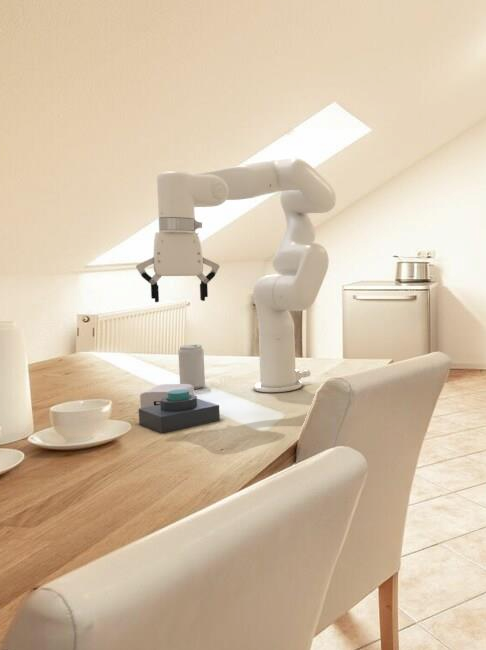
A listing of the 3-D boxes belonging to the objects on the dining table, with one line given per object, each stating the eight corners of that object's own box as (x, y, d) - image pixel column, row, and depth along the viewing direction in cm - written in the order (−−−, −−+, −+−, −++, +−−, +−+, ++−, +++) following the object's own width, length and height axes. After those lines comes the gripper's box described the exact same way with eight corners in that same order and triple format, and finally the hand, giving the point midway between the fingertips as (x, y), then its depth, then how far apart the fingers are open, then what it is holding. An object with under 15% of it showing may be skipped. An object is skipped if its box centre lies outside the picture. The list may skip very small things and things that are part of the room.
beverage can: (209, 387, 178) (208, 345, 177) (188, 391, 172) (186, 348, 171) (196, 384, 181) (194, 343, 180) (175, 388, 176) (173, 346, 175)
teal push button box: (196, 412, 150) (195, 389, 150) (219, 420, 144) (218, 396, 143) (139, 424, 140) (137, 399, 140) (161, 433, 134) (160, 407, 133)
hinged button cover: (203, 396, 166) (180, 411, 152) (167, 397, 166) (140, 411, 151) (202, 378, 166) (179, 391, 151) (166, 379, 165) (139, 392, 150)
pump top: (183, 396, 145) (183, 388, 144) (193, 399, 142) (192, 391, 142) (164, 400, 141) (164, 391, 141) (173, 403, 138) (173, 394, 138)
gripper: (215, 228, 151) (218, 299, 153) (134, 226, 143) (137, 301, 144) (220, 227, 145) (222, 301, 146) (134, 225, 136) (138, 303, 138)
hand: (180, 301), depth 145 cm, fingers open, 9 cm apart
